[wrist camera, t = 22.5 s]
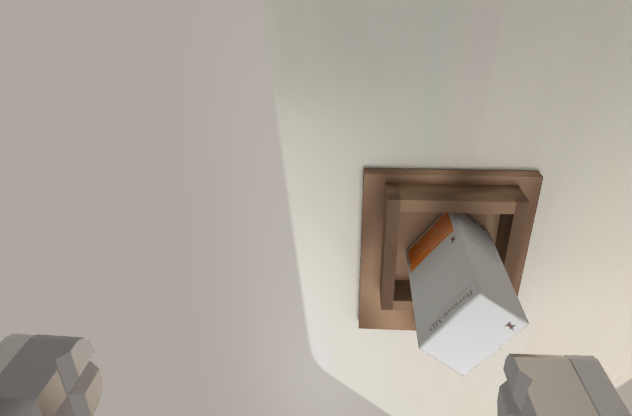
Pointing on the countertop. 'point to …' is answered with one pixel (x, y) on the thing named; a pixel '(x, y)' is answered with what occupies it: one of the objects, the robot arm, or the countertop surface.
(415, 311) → the skincare box
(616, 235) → the countertop surface
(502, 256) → the organiser tray
